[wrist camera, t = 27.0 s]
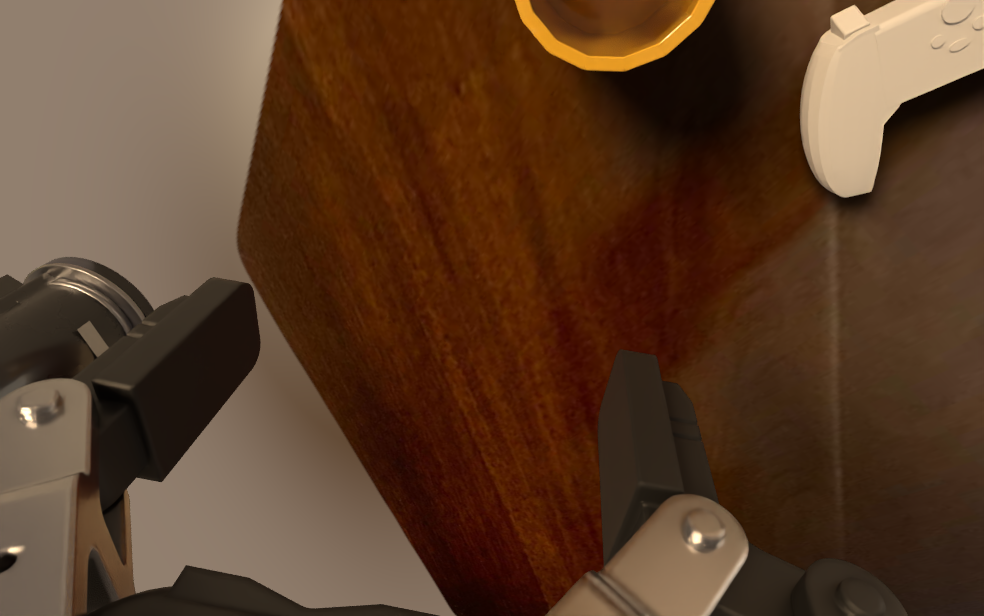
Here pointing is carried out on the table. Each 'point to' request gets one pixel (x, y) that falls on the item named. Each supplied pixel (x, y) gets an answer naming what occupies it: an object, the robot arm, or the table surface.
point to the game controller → (880, 80)
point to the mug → (611, 29)
